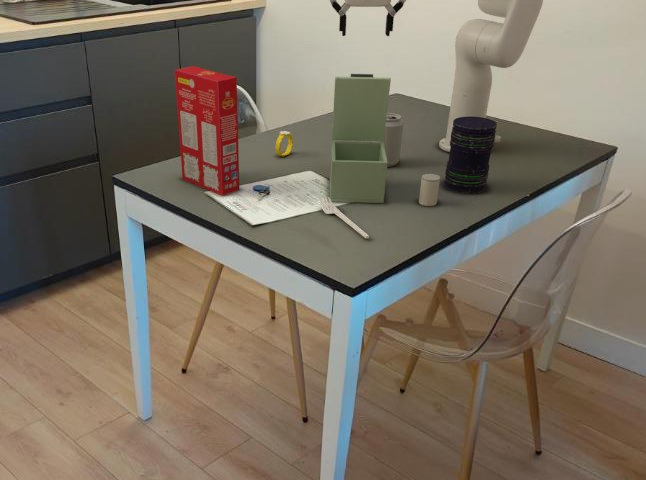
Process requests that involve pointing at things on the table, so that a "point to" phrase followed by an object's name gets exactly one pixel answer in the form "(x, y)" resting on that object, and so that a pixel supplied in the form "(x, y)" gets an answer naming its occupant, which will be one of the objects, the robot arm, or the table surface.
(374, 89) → the box lid
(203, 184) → the food packaging
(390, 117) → the can
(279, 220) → the table surface
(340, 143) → the olive green lidded box
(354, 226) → the fork
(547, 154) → the table surface
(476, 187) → the dark blue disc stack
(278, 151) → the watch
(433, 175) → the off-white cylinder
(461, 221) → the table surface
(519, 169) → the table surface
